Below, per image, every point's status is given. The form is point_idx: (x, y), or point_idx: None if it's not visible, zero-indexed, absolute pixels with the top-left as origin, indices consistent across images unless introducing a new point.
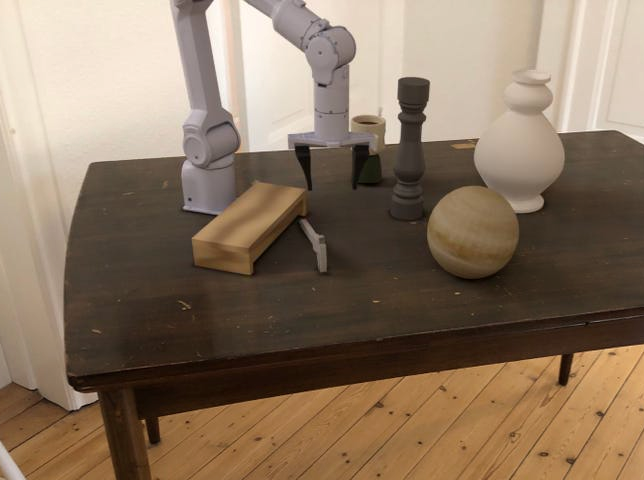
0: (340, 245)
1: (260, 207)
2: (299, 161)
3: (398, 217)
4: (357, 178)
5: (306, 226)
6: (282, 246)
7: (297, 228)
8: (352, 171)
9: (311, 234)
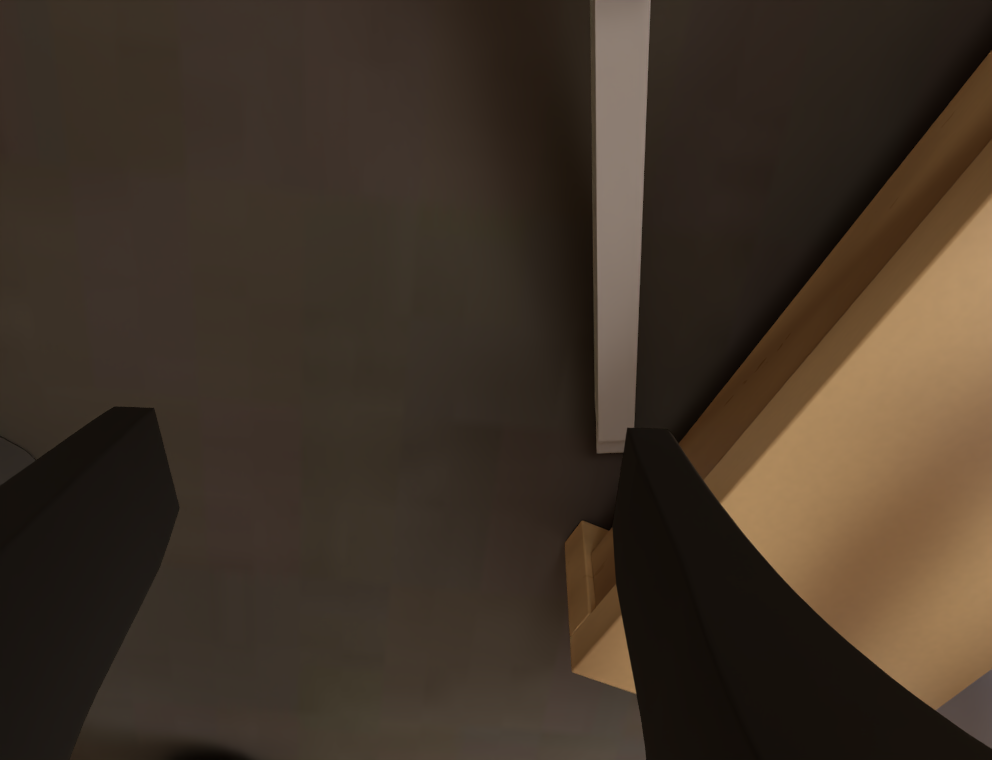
0: (392, 114)
1: (982, 468)
2: (973, 738)
3: (6, 447)
4: (17, 482)
5: (631, 292)
6: (823, 145)
7: (654, 388)
8: (103, 635)
9: (642, 61)
